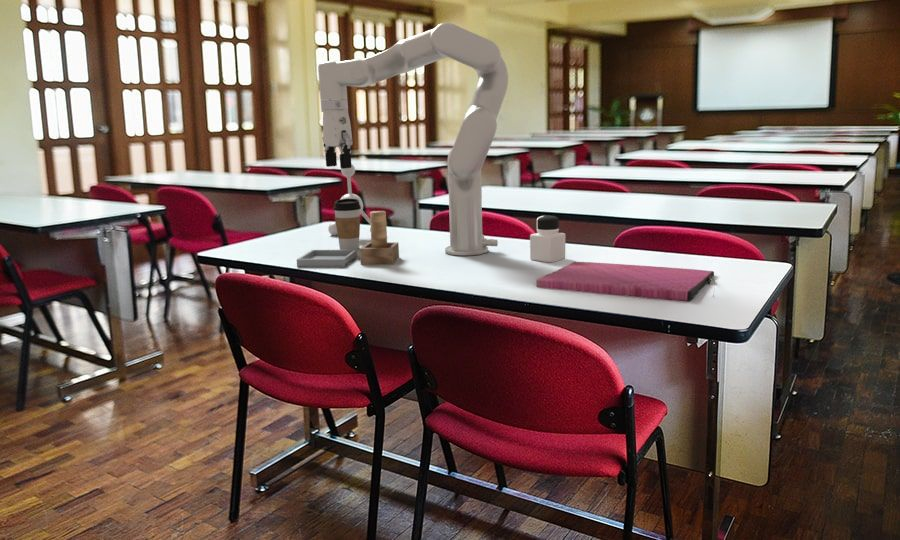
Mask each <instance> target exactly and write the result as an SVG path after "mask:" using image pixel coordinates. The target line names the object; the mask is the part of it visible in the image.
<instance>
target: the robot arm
mask: <svg viewBox="0 0 900 540" xmlns="http://www.w3.org/2000/svg"><path fill="white" fill-rule="evenodd" d="M446 58H449V59H452V60H454V61H456V62H458V63H459V64H460V63H461V64H463V65H465V66H467V67H470V68H472V69H474V70H475V72H476V74H477V85H476V87H475V89H474V92H473V96H472V99H471V101H470V104H469V106H468V108H467V111H466V112H465V114H464V115H463V117H462V121H461V125H460V128H459V131H458V134H457V135H456V138H455V141H454V143H453V146H452V148H451V149H450V151H449V152H448V154H447V160H446V161H447V176H448V177H447V178H448V182H447V183H448V208H449V209H448V211H449V246H446V247H445V249H444V252H445V254H447V255H451V256H462V257H463V256H465V257H466V256H476V255H482V254H486V253H488V251H489V250H488V249H489V248H488V247H498V243H499V242H498V239H494V238H490V239H488V238H485V234H483V210H482V208H483V207H482V199H483V198H482V197H483V194H482V192H483V190H482V168H483V165H484V163H485V161H486V158H487V156H488V154H489V151H490V148H491V145H492V144H493V141H494V138H495V136H496V132H497V129H498V128H497V126H498V125H497V124H498V123H497V119H498V115H499V113H500V111H501V109H502V105H503V103H504V100H505V97H506V94H507V90H508V85H509V72H508V68H507V65H506V63H505V61H504V59H503V58H502V53H501V49H500V47H499V46H498V45H497V44H496V43H495V41H492V39H491V40H490V39H488V38H486V37H484V36H481V35H479V34H477V33H474V32H472V31H471V30H470V31H469V30H467V29H465V28H463V27H461V26H460V25H459V26H458V25H456V24H454V23H453V22H442V23H441V22H440V23H439V24H437V26H435V27H434V28H432V29H428V30H426V31H424V32H422V33H418V34H416V35H413V36H410V37H408V38H405V39H402V40H400V41H398V42H396V43H395V44H393V45H391V47H389V48H388V49H386V50H383V51H382V52H379V53H376V54H374V55H372V56H368V57H366V58H363V59H362V58H361V59H360V58H356V59H355V58H354V59H351V60H350V59H348V60H342V61H340V60H330V61H329V60H328V61H327V60H326V61H321V62H319V64H318V66H317V67H318V69H317V70H318V82H319V97H320V109H321V110H320V111H321V113H322V138H321V139H322V142H323V148H324V150H323V151H324V154H325V155H324V156H325V166H326V167H327V168H329V167H337V166H338V163H337V152H335V151H336V148H338V150H339V152H340V154H339V163H340V169H341V168H342V169H344V168H351V167H352V166H351V164H352V146H353V136H352V135H353V134H352V127H351V126H352V124H351V120H350V115H349V105H348V104H349V103H348V89H347V87H356V88H366V87H369V86H372V85H374V84H376V83H379V82H383V81H385V80H388V79H390V78H393V77H395V76H398V75H401V74H402V75H403V74H406V73H408V72H411V71H413V70H416V69H418V68H422V67H424V66H427V65H429V64H433V63H435V62H438V61H441V60H444V59H446Z"/></svg>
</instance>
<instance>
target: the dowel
mask: <svg viewBox="0 0 900 540" xmlns="http://www.w3.org/2000/svg"><path fill="white" fill-rule="evenodd" d="M369 218H370V224H371V225H370V224H369V225H370V227H371V232H370V237H371V241H370V242H371V243H372V248H387V242H388V235H387V233H388V231H387V212H386V211H385V210H373V211H370V212H369Z"/></svg>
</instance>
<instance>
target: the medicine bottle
mask: <svg viewBox="0 0 900 540" xmlns="http://www.w3.org/2000/svg"><path fill="white" fill-rule="evenodd" d="M559 226H560V218H559V217H557V216H555V215H541V216H538V217H537V218H536V233H531V234H530V235H529V249H530V250H529V252H530V254H529V259H530V260H531V261H535V262H536V261H537V262H542V263H554V262H557V261H561V260H564V259H566V233H564V232H559V231H560V227H559Z"/></svg>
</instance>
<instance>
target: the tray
mask: <svg viewBox="0 0 900 540" xmlns="http://www.w3.org/2000/svg"><path fill="white" fill-rule="evenodd" d="M357 258H358V249H357V250H340V249H311V250H310V251H308V252H306V253H305V254H303V255H302V256H299V257H298V258H297V259H296V267H297V268H298V267H299V268H346V267H347V266H348V265H349V264H350V263H351V262H353V261H354V260H355V259H357ZM300 266H301V267H300ZM303 266H305V267H303ZM306 266H307V267H306Z"/></svg>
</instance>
